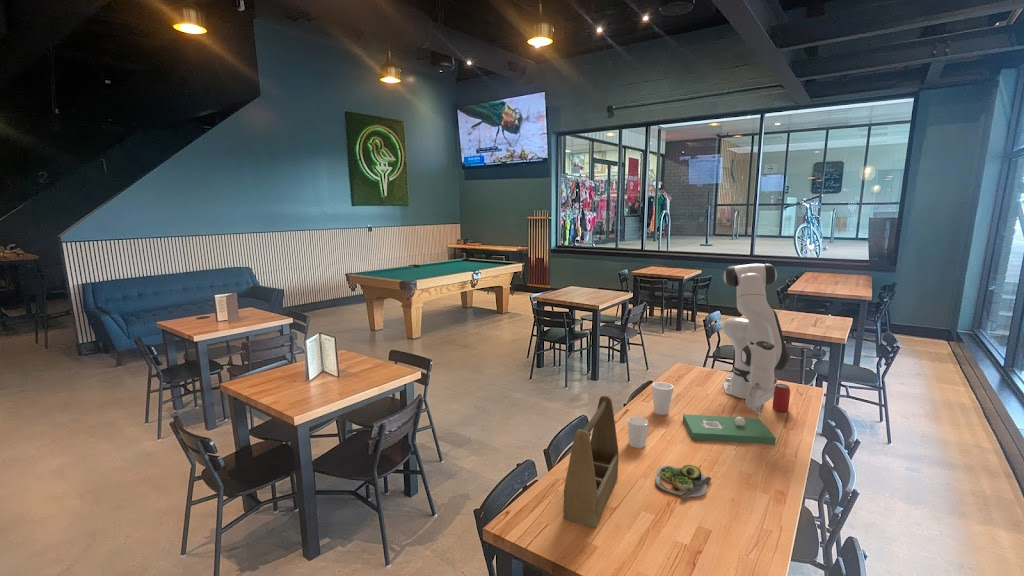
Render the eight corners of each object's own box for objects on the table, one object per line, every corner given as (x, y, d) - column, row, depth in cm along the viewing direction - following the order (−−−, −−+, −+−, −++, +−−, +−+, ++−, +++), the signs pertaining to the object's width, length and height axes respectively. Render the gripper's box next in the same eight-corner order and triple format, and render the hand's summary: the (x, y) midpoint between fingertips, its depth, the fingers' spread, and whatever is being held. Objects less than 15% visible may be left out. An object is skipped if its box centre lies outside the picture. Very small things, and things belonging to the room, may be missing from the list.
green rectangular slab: (682, 420, 212) (683, 414, 211) (758, 424, 207) (759, 418, 207) (692, 439, 194) (692, 432, 194) (775, 444, 190) (776, 437, 189)
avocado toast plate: (709, 509, 149) (710, 496, 148) (651, 495, 157) (651, 482, 156) (711, 478, 167) (712, 466, 166) (658, 467, 174) (659, 455, 173)
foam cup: (669, 408, 225) (670, 382, 223) (674, 416, 216) (675, 389, 214) (649, 407, 226) (650, 381, 224) (652, 415, 217) (654, 388, 214)
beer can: (787, 414, 218) (789, 389, 216) (771, 410, 222) (773, 386, 220) (789, 409, 224) (791, 385, 222) (773, 406, 227) (775, 382, 226)
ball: (733, 423, 202) (733, 414, 201) (742, 424, 201) (743, 415, 201) (736, 427, 198) (736, 418, 197) (746, 428, 197) (747, 419, 197)
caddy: (596, 529, 139) (599, 434, 135) (562, 519, 144) (563, 427, 139) (618, 479, 166) (621, 397, 161) (588, 472, 170) (590, 392, 165)
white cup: (624, 446, 189) (625, 422, 187) (629, 437, 196) (630, 415, 194) (644, 450, 185) (646, 426, 183) (649, 442, 192) (650, 419, 190)
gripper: (759, 389, 186) (756, 422, 188) (778, 378, 200) (775, 409, 202) (743, 384, 191) (740, 417, 193) (763, 374, 204) (760, 404, 206)
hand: (758, 413), depth 197 cm, fingers closed
